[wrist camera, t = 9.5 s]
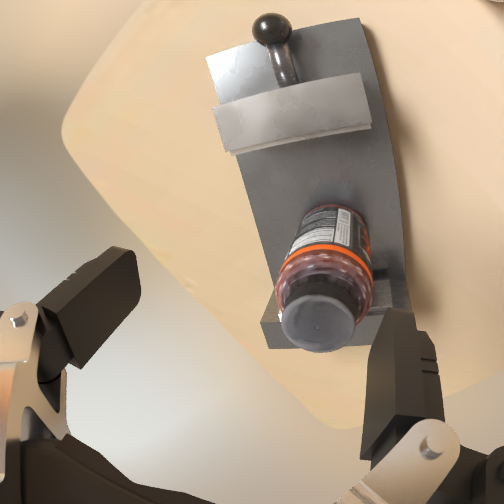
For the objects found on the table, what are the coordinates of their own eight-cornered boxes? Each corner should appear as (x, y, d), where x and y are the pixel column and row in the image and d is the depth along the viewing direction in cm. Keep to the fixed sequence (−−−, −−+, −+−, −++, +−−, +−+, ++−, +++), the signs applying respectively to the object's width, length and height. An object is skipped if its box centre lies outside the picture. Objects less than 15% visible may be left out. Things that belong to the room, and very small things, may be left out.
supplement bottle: (372, 264, 26) (374, 366, 16) (304, 270, 28) (274, 366, 18) (365, 197, 23) (372, 276, 14) (291, 205, 25) (249, 284, 16)
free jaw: (368, 121, 20) (373, 129, 16) (249, 144, 24) (227, 157, 20) (335, 7, 17) (331, -13, 13) (218, 39, 20) (188, 30, 16)
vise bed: (404, 293, 28) (411, 341, 22) (284, 304, 32) (269, 348, 27) (358, 21, 18) (361, -2, 13) (213, 58, 23) (174, 53, 17)
